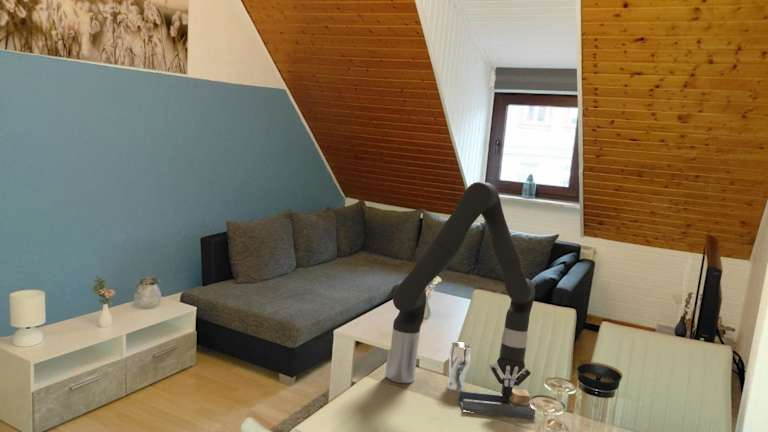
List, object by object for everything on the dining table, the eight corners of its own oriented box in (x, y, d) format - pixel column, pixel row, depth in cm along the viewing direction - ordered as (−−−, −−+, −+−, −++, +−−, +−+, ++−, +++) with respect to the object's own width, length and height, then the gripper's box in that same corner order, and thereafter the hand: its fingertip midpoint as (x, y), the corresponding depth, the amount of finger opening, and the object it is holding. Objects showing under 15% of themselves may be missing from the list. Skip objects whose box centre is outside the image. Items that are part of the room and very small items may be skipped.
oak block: (512, 410, 167) (514, 394, 166) (508, 403, 172) (510, 388, 171) (528, 412, 167) (530, 396, 167) (523, 405, 172) (525, 390, 172)
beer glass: (442, 388, 182) (447, 344, 181) (449, 382, 188) (455, 340, 187) (462, 394, 179) (467, 349, 178) (469, 388, 185) (474, 345, 184)
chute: (462, 412, 164) (464, 401, 164) (458, 400, 173) (459, 389, 173) (534, 419, 165) (535, 408, 165) (526, 407, 174) (527, 396, 174)
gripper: (495, 343, 164) (487, 399, 165) (538, 349, 164) (530, 404, 165) (490, 336, 171) (482, 390, 172) (531, 341, 172) (523, 394, 173)
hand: (506, 397), depth 169 cm, fingers closed
